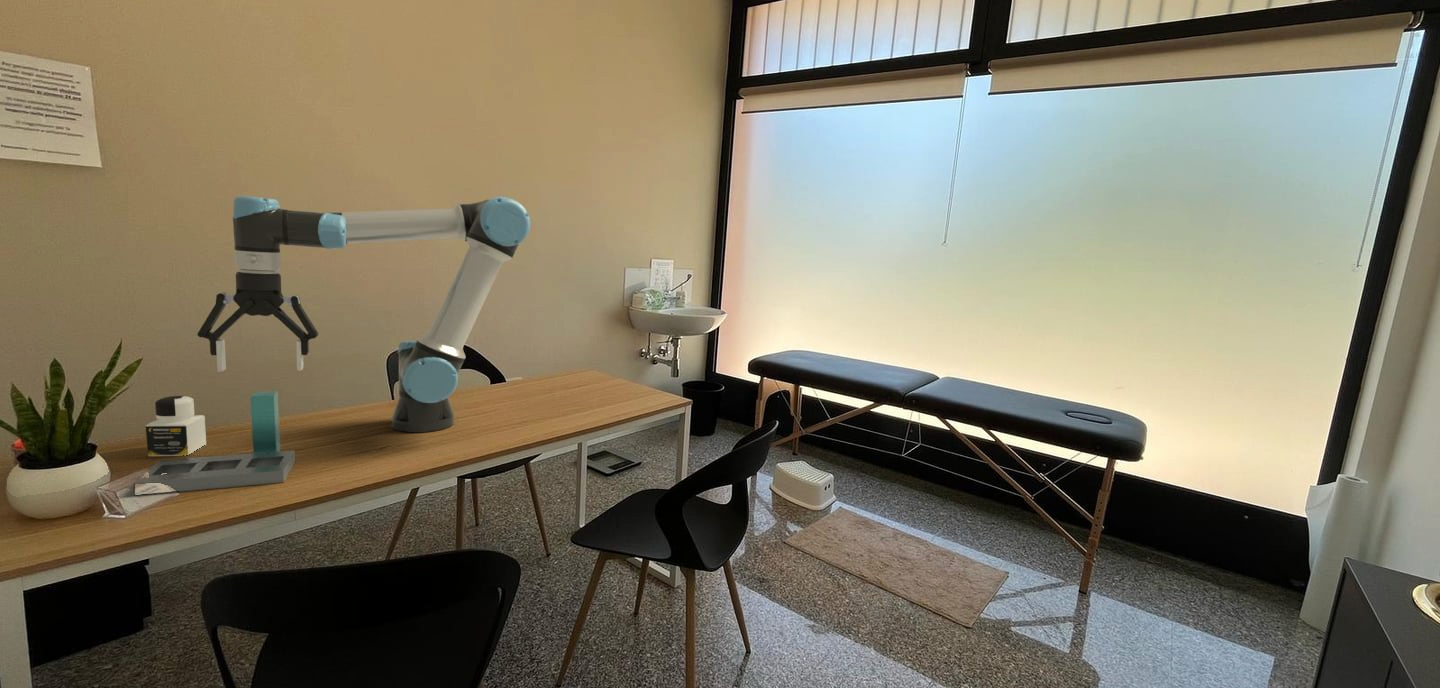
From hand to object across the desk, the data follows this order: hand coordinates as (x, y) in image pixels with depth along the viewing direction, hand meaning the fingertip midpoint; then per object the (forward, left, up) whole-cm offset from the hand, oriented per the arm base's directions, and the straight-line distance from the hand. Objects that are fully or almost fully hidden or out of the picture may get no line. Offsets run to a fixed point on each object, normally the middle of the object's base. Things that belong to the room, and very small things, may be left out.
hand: (261, 370), depth 125 cm
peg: (0, 0, -19) cm, 19 cm away
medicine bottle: (+17, -7, -20) cm, 27 cm away
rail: (+5, +12, -19) cm, 23 cm away
